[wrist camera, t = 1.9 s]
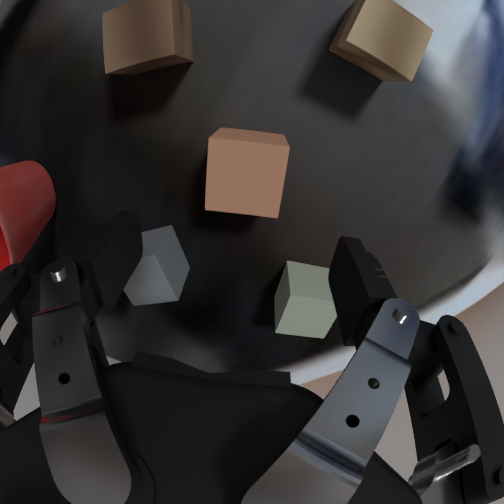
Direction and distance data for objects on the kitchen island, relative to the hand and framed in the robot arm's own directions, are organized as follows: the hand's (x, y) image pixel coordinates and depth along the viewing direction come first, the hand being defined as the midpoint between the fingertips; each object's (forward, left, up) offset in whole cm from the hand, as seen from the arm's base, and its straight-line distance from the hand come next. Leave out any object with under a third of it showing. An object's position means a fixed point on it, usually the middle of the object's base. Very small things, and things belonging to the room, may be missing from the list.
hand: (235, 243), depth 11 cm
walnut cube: (-8, +10, -13) cm, 18 cm away
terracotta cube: (0, 0, -13) cm, 13 cm away
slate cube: (-8, -10, -13) cm, 18 cm away
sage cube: (+7, -12, -13) cm, 19 cm away
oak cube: (+8, +12, -13) cm, 19 cm away
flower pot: (-24, -4, -13) cm, 28 cm away
